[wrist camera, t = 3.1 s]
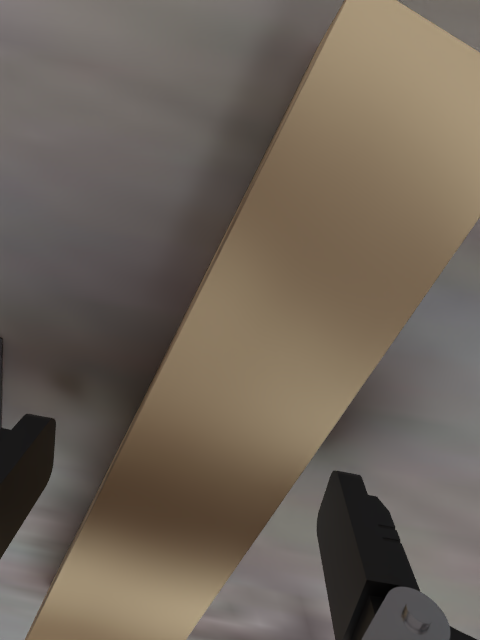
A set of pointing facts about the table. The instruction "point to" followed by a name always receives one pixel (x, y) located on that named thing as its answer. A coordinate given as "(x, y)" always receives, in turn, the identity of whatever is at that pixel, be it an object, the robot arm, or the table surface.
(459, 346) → the table surface
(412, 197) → the oak bar
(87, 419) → the table surface
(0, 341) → the fulcrum
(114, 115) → the table surface
